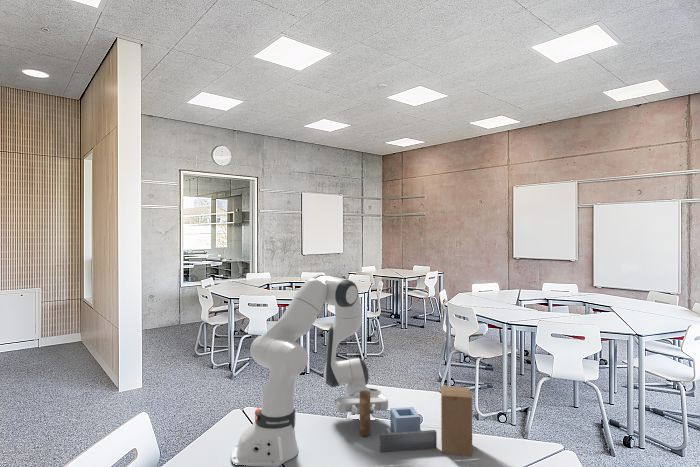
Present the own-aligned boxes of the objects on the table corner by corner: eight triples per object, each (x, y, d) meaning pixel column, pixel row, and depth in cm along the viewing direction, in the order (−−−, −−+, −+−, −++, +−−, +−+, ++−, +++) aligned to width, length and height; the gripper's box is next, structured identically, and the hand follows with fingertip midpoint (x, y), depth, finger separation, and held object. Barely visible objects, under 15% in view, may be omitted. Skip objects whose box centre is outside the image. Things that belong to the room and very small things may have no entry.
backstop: (380, 453, 139) (380, 435, 139) (371, 432, 154) (371, 416, 154) (436, 449, 142) (436, 431, 142) (422, 429, 157) (422, 413, 157)
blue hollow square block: (396, 440, 147) (396, 418, 148) (390, 429, 156) (390, 408, 156) (420, 438, 149) (420, 416, 149) (413, 427, 158) (413, 407, 158)
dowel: (360, 438, 150) (360, 394, 150) (358, 433, 154) (358, 390, 154) (371, 437, 150) (371, 394, 151) (369, 432, 154) (369, 390, 154)
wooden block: (472, 457, 136) (472, 397, 137) (441, 454, 138) (441, 395, 139) (469, 443, 146) (469, 387, 147) (441, 440, 148) (441, 385, 149)
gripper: (333, 391, 164) (337, 405, 150) (383, 389, 166) (391, 402, 153) (333, 407, 163) (337, 422, 150) (383, 404, 166) (391, 419, 153)
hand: (365, 412), depth 151 cm, fingers closed on dowel, 4 cm apart
